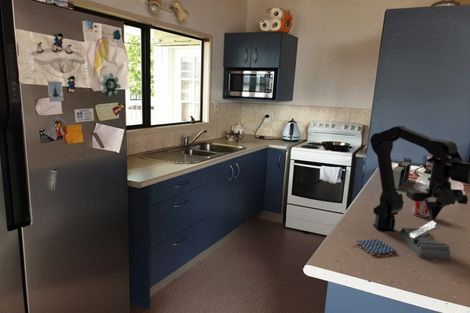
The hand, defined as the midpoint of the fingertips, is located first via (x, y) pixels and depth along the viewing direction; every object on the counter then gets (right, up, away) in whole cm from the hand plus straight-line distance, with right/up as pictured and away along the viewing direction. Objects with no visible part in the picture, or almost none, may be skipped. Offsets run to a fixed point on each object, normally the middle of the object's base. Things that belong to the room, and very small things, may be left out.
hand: (432, 219), depth 124 cm
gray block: (-3, -5, +1) cm, 6 cm away
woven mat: (-21, -11, -1) cm, 23 cm away
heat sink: (-3, -11, +2) cm, 11 cm away
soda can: (+15, -5, +36) cm, 39 cm away
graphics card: (+31, +5, +91) cm, 96 cm away
